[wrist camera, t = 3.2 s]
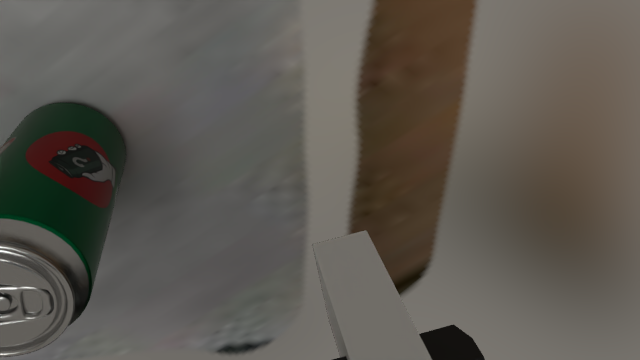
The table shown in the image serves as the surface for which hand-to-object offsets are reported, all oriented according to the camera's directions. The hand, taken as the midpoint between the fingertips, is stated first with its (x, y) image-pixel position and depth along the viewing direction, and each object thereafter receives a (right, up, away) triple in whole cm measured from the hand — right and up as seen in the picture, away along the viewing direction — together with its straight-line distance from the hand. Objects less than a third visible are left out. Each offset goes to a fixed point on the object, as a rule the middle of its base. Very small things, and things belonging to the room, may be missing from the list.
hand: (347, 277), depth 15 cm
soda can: (-13, +4, +12) cm, 18 cm away
